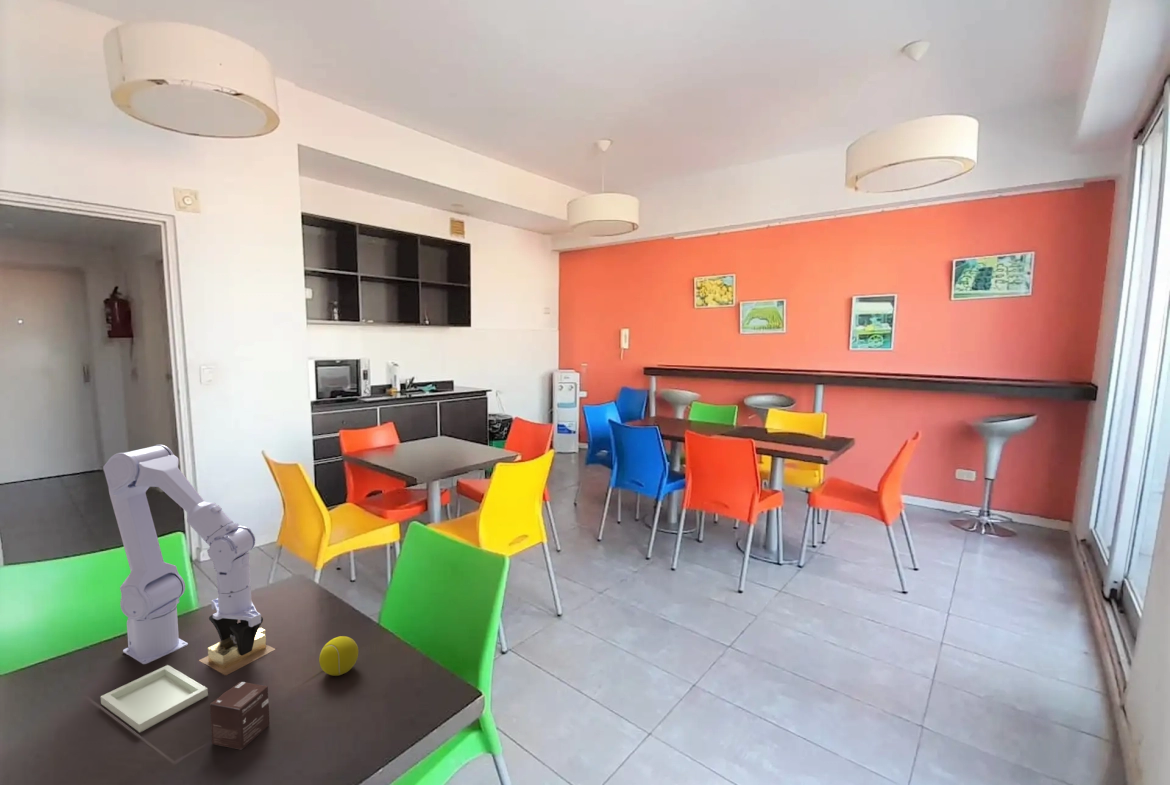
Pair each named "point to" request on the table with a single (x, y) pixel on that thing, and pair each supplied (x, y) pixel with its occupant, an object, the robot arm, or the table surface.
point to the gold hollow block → (234, 651)
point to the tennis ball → (338, 655)
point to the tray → (153, 697)
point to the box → (239, 715)
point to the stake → (233, 639)
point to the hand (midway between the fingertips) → (237, 648)
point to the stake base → (239, 664)
